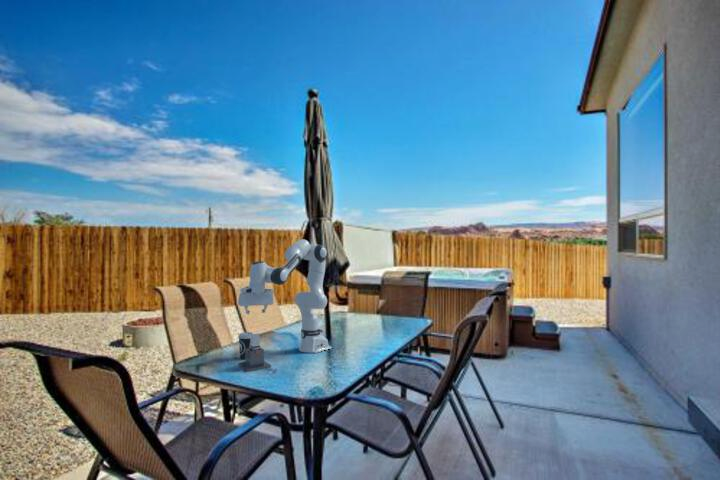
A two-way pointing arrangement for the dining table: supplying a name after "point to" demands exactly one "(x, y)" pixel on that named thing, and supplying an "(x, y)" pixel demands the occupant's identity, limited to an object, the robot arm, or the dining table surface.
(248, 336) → the coffee cup
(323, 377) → the dining table surface
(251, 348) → the column
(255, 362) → the stand
